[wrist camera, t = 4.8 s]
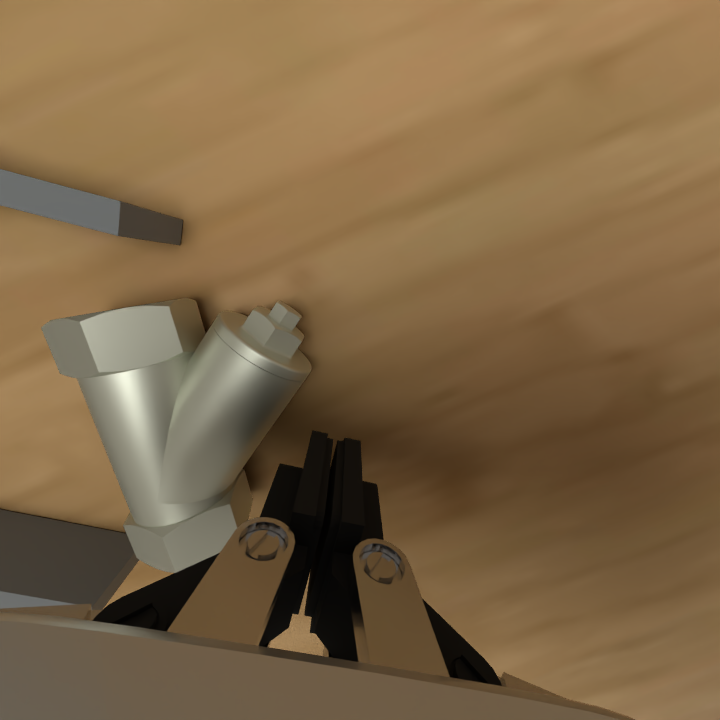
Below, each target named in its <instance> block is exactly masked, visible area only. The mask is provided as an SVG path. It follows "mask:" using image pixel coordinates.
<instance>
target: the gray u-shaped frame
mask: <svg viewBox="0 0 720 720" xmlns="http://www.w3.org/2000/svg"><path fill="white" fill-rule="evenodd" d="M0 205H1V206H5V207H9V208H13V209H17V210H21V211H24V212H28V213H32V214H36V215H40V216H44V217H47V218H51V219H55V220H59V221H63V222H67V223H70V224H74V225H78V226H82V227H86V228H90V229H94V230H97V231H101V232H105V233H109V234H113V235H117V236H122V237H129V238H136V239H142V240H149V241H156V242H162V243H169V244H176V245H180V242H181V234H182V225H183V220H181V219H178V218H174V217H171V216H168V215H164V214H161V213H158V212H154V211H151V210H148V209H144V208H141V207H138V206H134V205H131V204H128V203H124V202H121V201H117V200H114V199H110V198H106V197H102V196H99V195H95V194H91V193H87V192H84V191H80V190H76V189H73V188H69V187H65V186H61V185H58V184H54V183H50V182H46V181H43V180H39V179H35V178H32V177H28V176H24V175H20V174H17V173H13V172H9V171H5V170H2V169H0ZM138 561H139V559H138V558H136V555H135V553H134V550H133V548H132V546H131V543H130V541H129V538H128V536H127V534H126V533H120V532H115V531H110V530H105V529H100V528H94V527H89V526H84V525H79V524H74V523H68V522H63V521H58V520H53V519H48V518H42V517H37V516H32V515H27V514H22V513H16V512H11V511H6V510H1V509H0V609H1V608H20V607H38V606H56V605H75V604H91V610H102V609H103V608H104V607H105V605H106V604H107V603H108V601H109V600H110V599H111V597H112V596H113V595H114V593H115V592H116V590H117V589H118V588H119V586H120V585H121V584H122V582H123V581H124V580H125V578H126V577H127V576H128V574H129V573H130V572H131V570H132V569H133V568H134V566H135V565H136V564H137V562H138Z"/></svg>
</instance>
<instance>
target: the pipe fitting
mask: <svg viewBox="0 0 720 720" xmlns="http://www.w3.org/2000/svg"><path fill="white" fill-rule="evenodd" d="M301 317H302V316H301V315H300V314H299V313H298V312H297V311H296V310H294V309H293V308H291V307H290V306H288V305H287V304H285V303H283V302H281V301H278V302H277V303H276V304H275V306H274V307H273V309H272V310H269V309H267V308H265V307H262V306H257V307H256V308H255V309H253V311H252V312H251V314H250V315H249V317H248V316H245V315H243V314H240V313H237V312H233V311H222V312H220V313H219V314H218V316H217V317H216V319H215V320H214V322H213V324H212V325H211V327H210V328H209V330H208V331H207V333H206V334H205V330H204V327H203V323H202V320H201V316H200V313H199V309H198V306H197V302H196V301H195V300H192V299H189V298H181V299H175V300H169V301H163V302H157V303H151V304H145V305H139V306H133V307H127V308H121V309H115V310H108V311H102V312H96V313H90V314H84V315H78V316H72V317H66V318H61V319H55V320H50V321H49V322H48V323H46V324H45V325H44V326H43V327H41V329H42V331H43V333H44V336H45V338H46V341H47V343H48V345H49V348H50V350H51V353H52V355H53V358H54V360H55V362H56V365H57V367H58V370H59V372H60V374H63V375H66V376H69V377H73V378H77V380H78V383H79V385H80V388H81V390H82V393H83V395H84V398H85V400H86V403H87V405H88V408H89V410H90V413H91V415H92V418H93V420H94V423H95V425H96V428H97V430H98V433H99V435H100V438H101V440H102V443H103V445H104V448H105V450H106V453H107V455H108V458H109V460H110V463H111V465H112V468H113V470H114V472H115V475H116V477H117V480H118V482H119V485H120V487H121V490H122V492H123V495H124V497H125V500H126V502H127V504H128V507H129V509H130V514H129V515H128V517H127V519H126V521H125V523H124V524H123V526H124V529H125V531H126V533H127V536H128V538H129V541H130V543H131V546H132V548H133V550H134V553H135V555H136V558H138V559H139V560H141V561H143V562H144V563H146V564H148V565H150V566H152V567H154V568H156V569H159V570H162V571H166V572H172V573H176V572H178V571H181V570H183V569H185V568H187V567H189V566H192V565H194V564H196V563H198V562H200V561H203V560H205V559H207V558H209V557H211V556H214V555H216V554H218V553H219V552H221V550H222V549H223V547H224V546H225V545H226V543H227V542H228V540H229V539H230V537H231V536H232V534H233V533H234V531H235V530H236V529H237V528H238V527H239V526H240V525H241V524H242V523H244V522H246V521H248V518H249V514H250V511H251V506H252V501H253V498H252V494H251V491H250V487H249V484H248V480H247V477H246V473H245V470H244V469H242V468H243V467H244V465H245V464H246V463H247V461H248V460H249V458H250V457H251V456H252V454H253V453H254V451H255V450H256V448H257V447H258V446H259V444H260V443H261V441H262V440H263V438H264V437H265V436H266V434H267V433H268V431H269V430H270V429H271V427H272V426H273V424H274V423H275V422H276V420H277V419H278V417H279V416H280V414H281V413H282V412H283V410H284V409H285V407H286V406H287V405H288V403H289V402H290V400H291V399H292V398H293V396H294V395H295V393H296V392H297V390H298V389H299V388H300V386H301V385H302V383H303V382H304V381H305V379H306V378H307V377H308V375H309V374H310V372H311V370H312V367H311V364H310V362H309V360H308V359H307V358H306V356H305V355H304V354H303V353H302V352H301V351H300V350H299V349H298V347H299V345H300V344H301V342H302V340H303V339H304V335H303V333H302V332H301V331H300V330H299V329H298V328H297V327H295V326H296V324H297V323H298V321H299V320H300V318H301Z"/></svg>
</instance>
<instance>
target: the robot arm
mask: <svg viewBox="0 0 720 720" xmlns="http://www.w3.org/2000/svg"><path fill="white" fill-rule="evenodd" d="M327 437H328V434H327V433H322V432H318V431H312V435H311V439H310V443H309V447H308V451H307V455H306V459H305V463H304V467H303V468H299V467H294V466H289V465H285V464H280V465H279V467H278V470H277V473H276V475H275V478H274V481H273V483H272V486H271V489H270V491H269V494H268V497H267V499H266V502H265V505H264V507H263V510H262V513H261V515H260V517H258V518H254V519H250V520H248V521H246V522H244V523H242V524H241V525H240V526H239V527H238V528H237V529H236V530H235V531H234V533H233V534H232V536H231V537H230V539H229V540H228V542H227V543H226V545H225V546H224V547H223V549H222V550H221V552H220V553H218V554H216V555H214V556H211V557H209V558H207V559H205V560H203V561H200V562H198V563H196V564H194V565H192V566H189V567H187V568H185V569H183V570H181V571H178V572H176V573H174V574H172V575H170V576H167V577H165V578H163V579H161V580H159V581H156V582H154V583H152V584H150V585H148V586H145V587H143V588H141V589H139V590H137V591H134V592H132V593H130V594H128V595H126V596H123V597H121V598H120V599H118V600H116V601H115V602H113V603H111V604H109V605H108V606H107V607H106V608H104V609H102V610H91V604H75V605H56V606H38V607H20V608H1V609H0V720H635V719H633V718H631V717H628V716H625V715H622V714H619V713H616V712H613V711H610V710H607V709H604V708H601V707H598V706H594V705H589V704H585V703H581V702H577V701H573V700H569V699H566V698H563V697H561V696H559V695H556V694H554V693H552V692H549V691H547V690H545V689H542V688H540V687H537V686H535V685H533V684H530V683H528V682H526V681H523V680H521V679H519V678H516V677H514V676H512V675H509V674H507V673H505V672H504V673H503V675H502V677H498V676H497V675H496V673H495V671H494V670H493V668H492V667H491V666H490V665H489V664H488V663H487V661H486V660H485V659H484V658H483V657H482V656H481V655H480V654H479V653H478V652H477V651H476V650H475V649H474V648H473V647H472V646H471V645H470V644H469V643H468V642H467V641H465V640H464V639H463V638H462V637H461V636H460V635H459V634H458V633H457V632H456V631H455V630H454V629H453V628H452V627H451V626H450V625H449V624H448V623H447V622H446V621H445V620H444V619H443V618H442V617H441V616H440V615H439V614H438V613H437V612H436V611H435V610H434V609H433V608H432V607H431V606H429V605H428V604H427V603H426V602H425V601H424V600H423V599H422V597H421V594H420V592H419V589H418V586H417V583H416V580H415V577H414V575H413V572H412V569H411V566H410V564H409V562H408V560H407V558H406V556H405V555H404V554H403V553H402V551H401V550H400V549H398V548H397V547H396V546H394V545H393V544H391V543H389V542H387V541H385V540H384V539H383V531H382V522H381V513H380V505H379V496H378V488H377V484H375V483H370V482H365V481H362V462H361V442H360V441H359V440H354V439H350V438H344V441H339V440H338V441H337V444H336V448H335V452H334V456H333V460H332V463H331V454H332V446H333V439H330V438H327ZM330 463H331V467H330ZM310 569H311V570H310ZM309 573H310V578H309V585H308V592H307V599H306V606H305V616H310V617H312V618H311V627H310V633H315V634H316V635H317V636H318V637H319V639H320V640H321V641H322V643H323V644H324V650H323V656H318V655H312V654H306V653H300V652H293V651H287V650H281V649H275V648H269V645H270V641H271V640H273V639H274V638H275V637H277V636H278V635H279V634H281V633H282V632H283V631H285V630H286V629H287V628H289V624H290V621H291V617H292V613H293V614H298V613H299V610H300V606H301V603H302V599H303V595H304V592H305V588H306V584H307V581H308V577H309Z"/></svg>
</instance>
